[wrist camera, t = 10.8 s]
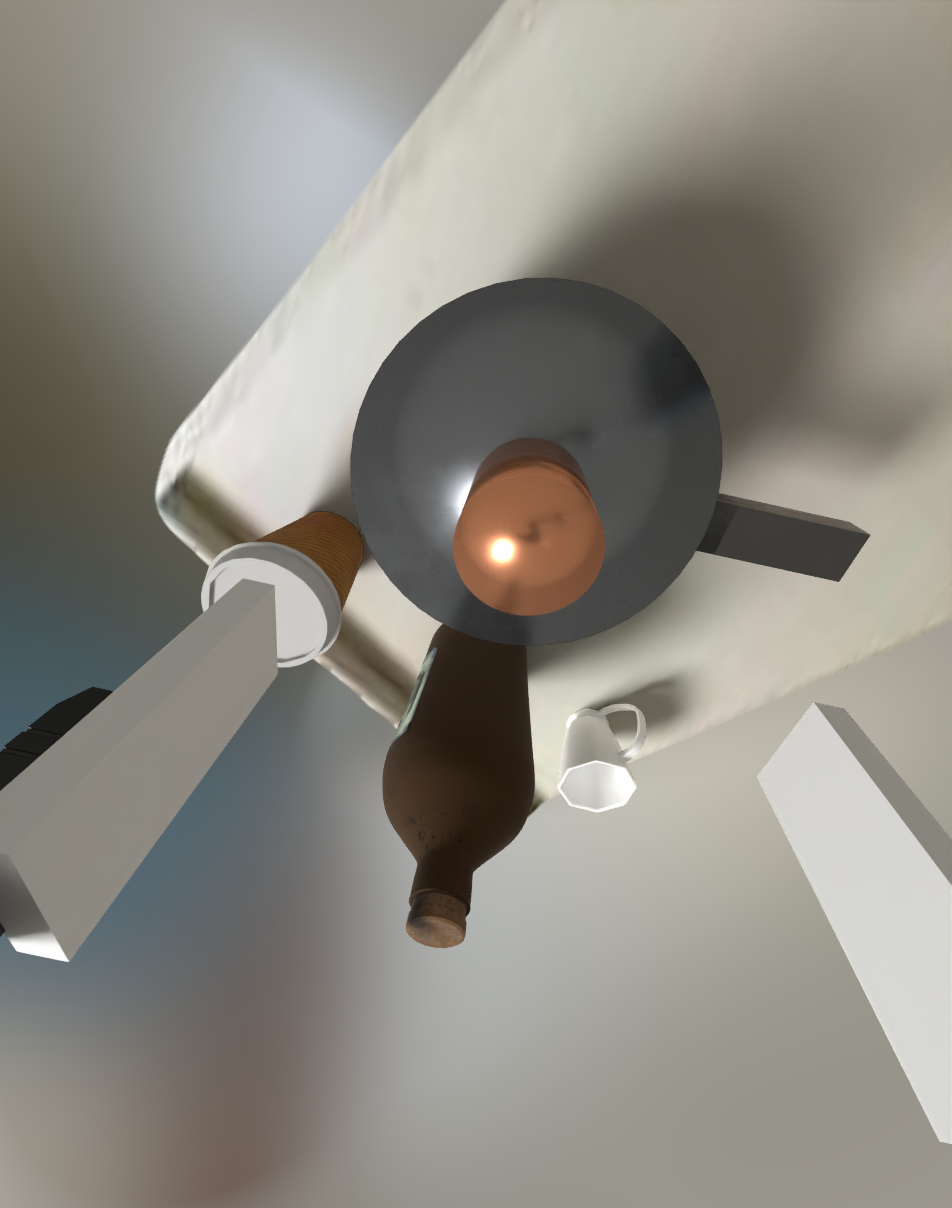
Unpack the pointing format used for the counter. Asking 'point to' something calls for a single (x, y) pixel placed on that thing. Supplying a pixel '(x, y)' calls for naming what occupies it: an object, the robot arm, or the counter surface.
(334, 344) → the counter surface
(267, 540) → the disposable coffee cup
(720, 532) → the cooker body
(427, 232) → the counter surface
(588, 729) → the cup
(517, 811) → the olive oil
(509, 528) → the cooker lid
